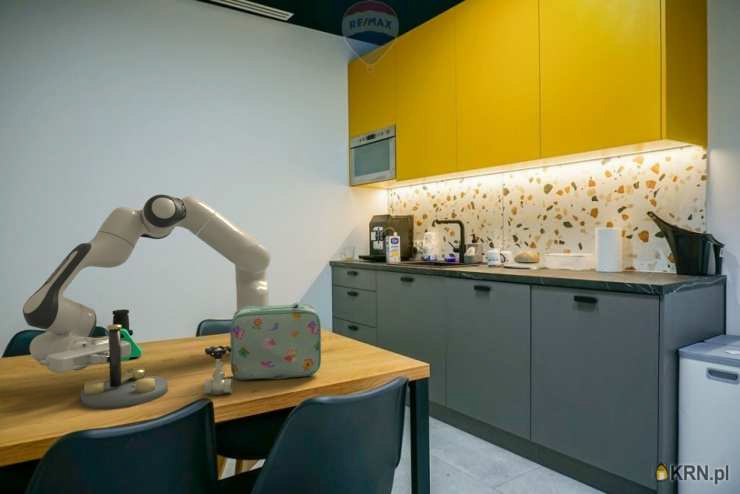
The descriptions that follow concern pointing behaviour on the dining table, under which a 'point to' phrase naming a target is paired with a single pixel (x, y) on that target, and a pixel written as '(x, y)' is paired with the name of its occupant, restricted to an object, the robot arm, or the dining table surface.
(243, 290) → the robot arm
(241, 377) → the lunch box
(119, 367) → the lever
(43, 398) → the dining table surface
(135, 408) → the dining table surface
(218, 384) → the valve
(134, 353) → the camera mount
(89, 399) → the plate
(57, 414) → the dining table surface
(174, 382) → the dining table surface
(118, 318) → the scope
